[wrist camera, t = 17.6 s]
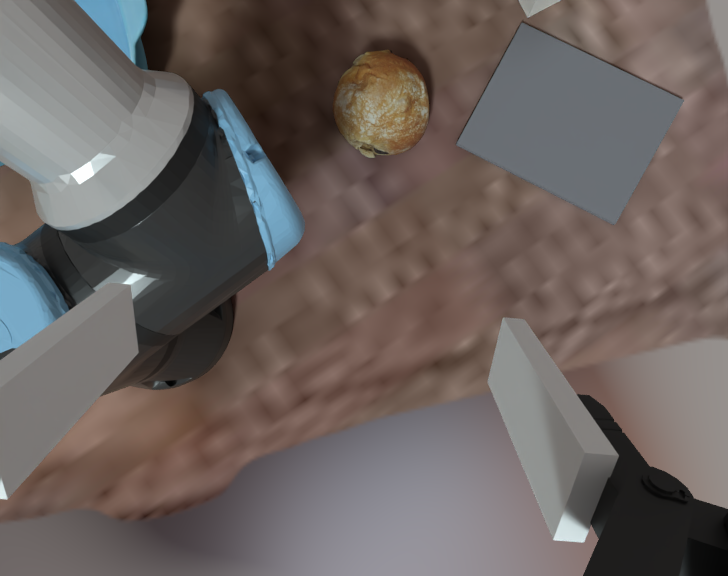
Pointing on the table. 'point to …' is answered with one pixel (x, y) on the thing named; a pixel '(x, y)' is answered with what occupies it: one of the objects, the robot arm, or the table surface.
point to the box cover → (535, 6)
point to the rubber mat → (569, 123)
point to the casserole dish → (120, 25)
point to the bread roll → (381, 104)
